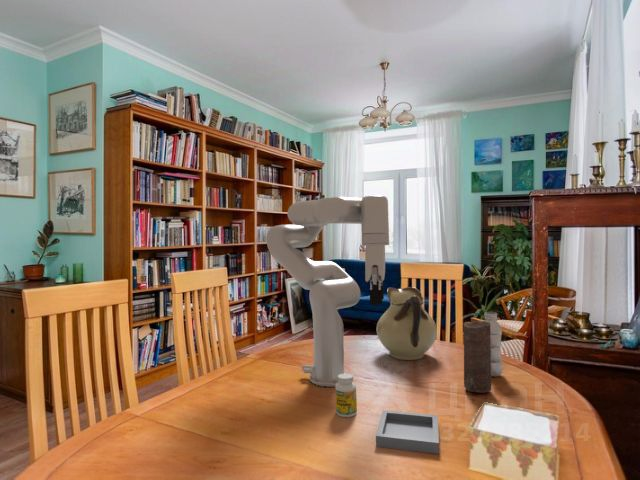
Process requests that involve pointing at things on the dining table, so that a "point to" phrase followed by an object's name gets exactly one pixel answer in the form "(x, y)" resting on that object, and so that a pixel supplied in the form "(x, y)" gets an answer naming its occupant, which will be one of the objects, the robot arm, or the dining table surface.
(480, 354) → the candle
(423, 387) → the dining table surface
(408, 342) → the pitcher
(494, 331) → the plastic bottle
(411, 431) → the tray
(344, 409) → the supplement bottle
